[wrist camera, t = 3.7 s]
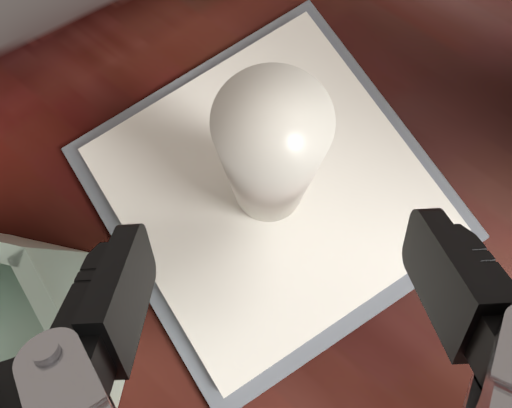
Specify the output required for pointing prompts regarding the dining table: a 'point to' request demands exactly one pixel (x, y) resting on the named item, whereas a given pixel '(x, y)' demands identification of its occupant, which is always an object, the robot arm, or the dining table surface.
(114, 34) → the dining table surface
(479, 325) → the robot arm
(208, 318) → the cover
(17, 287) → the bowl
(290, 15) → the mat
